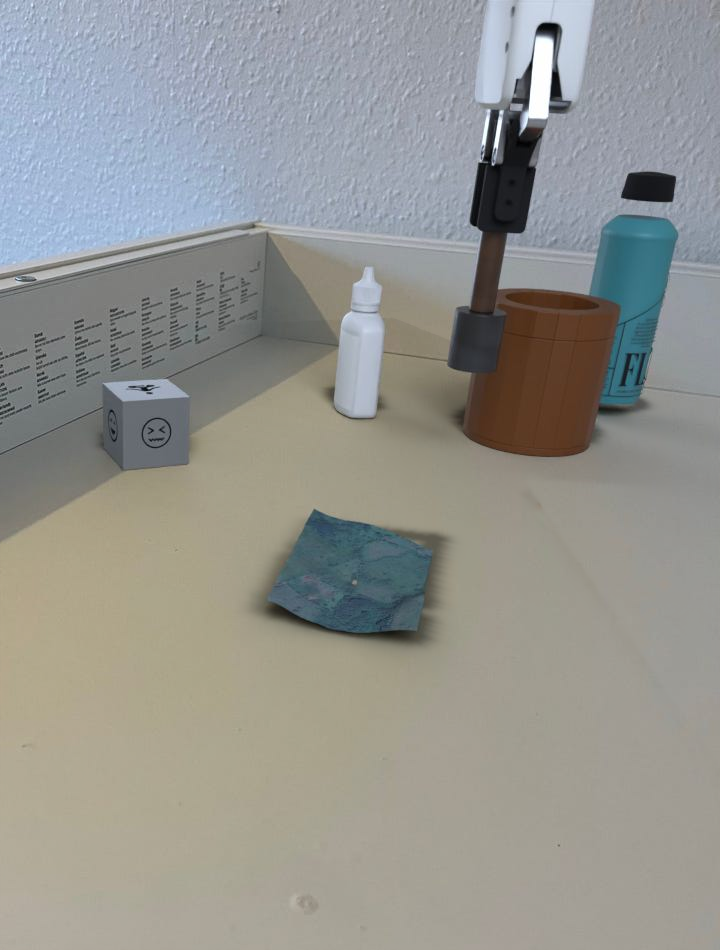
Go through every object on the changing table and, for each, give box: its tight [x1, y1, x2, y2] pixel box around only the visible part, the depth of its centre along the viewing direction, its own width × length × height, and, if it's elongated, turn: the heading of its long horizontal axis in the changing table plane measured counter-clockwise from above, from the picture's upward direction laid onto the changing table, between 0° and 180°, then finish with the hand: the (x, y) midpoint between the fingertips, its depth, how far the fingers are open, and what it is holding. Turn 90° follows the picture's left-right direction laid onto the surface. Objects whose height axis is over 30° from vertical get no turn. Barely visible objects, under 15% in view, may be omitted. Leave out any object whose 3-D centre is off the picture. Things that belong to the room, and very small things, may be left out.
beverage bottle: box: [588, 170, 679, 406], centre depth 86 cm, size 6×7×20 cm
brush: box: [446, 231, 509, 374], centre depth 69 cm, size 4×4×15 cm
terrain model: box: [266, 508, 434, 634], centre depth 55 cm, size 13×8×2 cm, turn 165°
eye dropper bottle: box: [333, 266, 386, 419], centre depth 84 cm, size 4×6×12 cm
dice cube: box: [101, 378, 191, 471], centre depth 73 cm, size 5×5×5 cm
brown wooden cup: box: [462, 287, 621, 457], centre depth 80 cm, size 10×10×11 cm
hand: (496, 227), depth 68 cm, fingers closed on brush
